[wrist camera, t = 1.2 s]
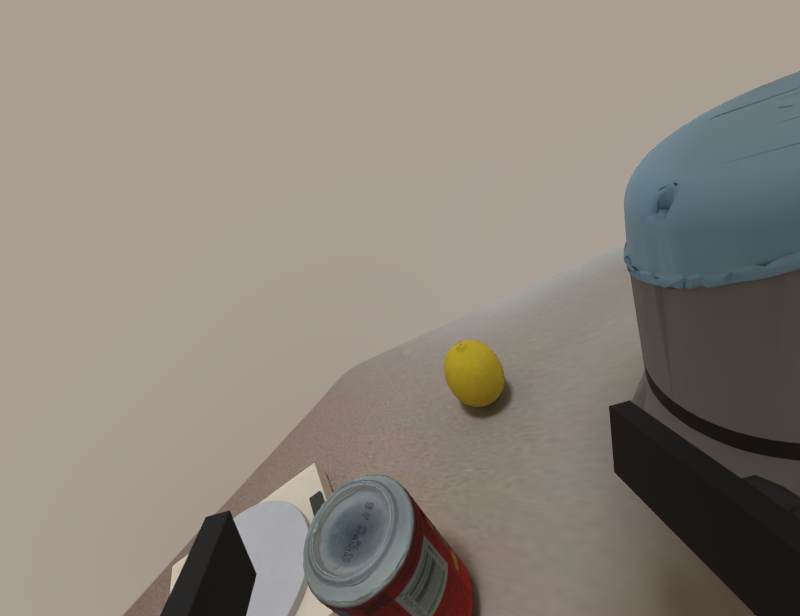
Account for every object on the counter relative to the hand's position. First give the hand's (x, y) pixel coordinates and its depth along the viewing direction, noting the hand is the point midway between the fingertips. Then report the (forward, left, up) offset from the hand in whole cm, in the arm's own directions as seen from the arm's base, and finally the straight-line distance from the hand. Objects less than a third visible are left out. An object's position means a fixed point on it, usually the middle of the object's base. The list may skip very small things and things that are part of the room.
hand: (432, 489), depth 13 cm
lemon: (-9, -19, -19) cm, 28 cm away
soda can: (+5, -7, -19) cm, 21 cm away
